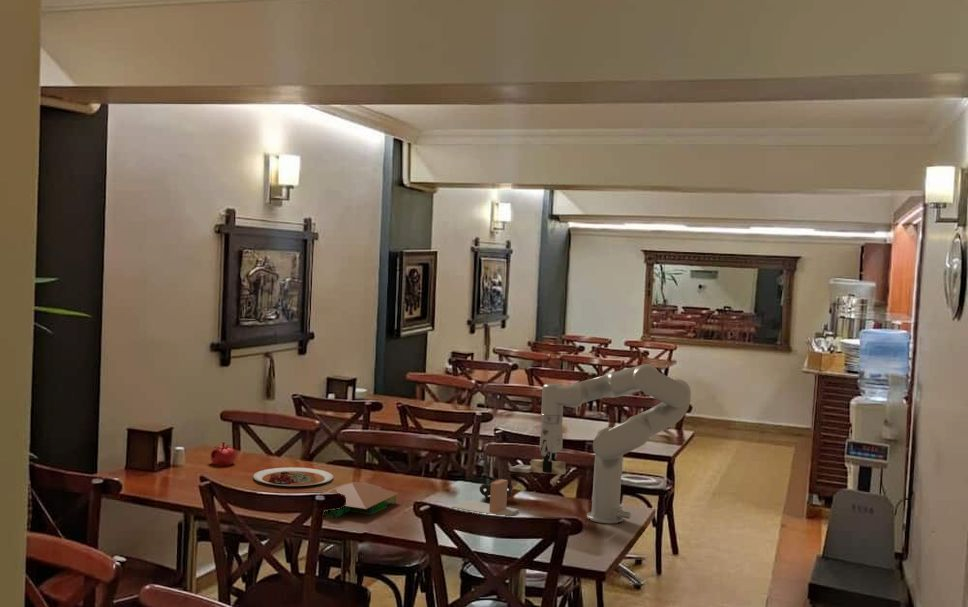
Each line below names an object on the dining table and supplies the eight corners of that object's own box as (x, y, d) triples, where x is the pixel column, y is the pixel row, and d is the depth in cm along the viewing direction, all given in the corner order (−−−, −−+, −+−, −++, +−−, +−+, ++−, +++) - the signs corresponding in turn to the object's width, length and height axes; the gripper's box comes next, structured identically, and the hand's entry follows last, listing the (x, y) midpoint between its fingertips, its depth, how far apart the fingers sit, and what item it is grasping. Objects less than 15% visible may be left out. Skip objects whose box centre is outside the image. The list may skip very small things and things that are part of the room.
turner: (567, 472, 322) (567, 460, 322) (559, 475, 316) (559, 463, 316) (518, 467, 331) (518, 456, 331) (510, 471, 325) (510, 459, 325)
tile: (506, 508, 321) (507, 480, 320) (495, 513, 314) (497, 484, 313) (499, 507, 322) (501, 479, 322) (489, 511, 315) (490, 483, 315)
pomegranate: (237, 462, 376) (239, 440, 375) (232, 467, 366) (233, 444, 365) (213, 461, 375) (214, 439, 375) (207, 466, 365) (208, 443, 365)
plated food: (341, 475, 366) (341, 467, 366) (320, 492, 336) (321, 483, 336) (268, 469, 369) (268, 461, 368) (241, 486, 339) (241, 477, 339)
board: (518, 512, 321) (518, 509, 321) (502, 519, 310) (502, 516, 310) (468, 502, 330) (468, 499, 330) (451, 509, 320) (451, 506, 319)
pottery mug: (501, 495, 344) (510, 479, 340) (507, 512, 336) (517, 495, 333) (472, 490, 339) (481, 473, 336) (479, 507, 331) (488, 490, 328)
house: (401, 500, 330) (402, 478, 330) (359, 521, 299) (360, 496, 298) (344, 492, 337) (346, 470, 337) (297, 512, 306) (298, 488, 306)
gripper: (552, 423, 312) (549, 476, 313) (570, 417, 327) (568, 469, 327) (532, 420, 316) (529, 473, 316) (551, 415, 330) (548, 466, 331)
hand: (549, 470), depth 322 cm, fingers closed on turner, 3 cm apart
